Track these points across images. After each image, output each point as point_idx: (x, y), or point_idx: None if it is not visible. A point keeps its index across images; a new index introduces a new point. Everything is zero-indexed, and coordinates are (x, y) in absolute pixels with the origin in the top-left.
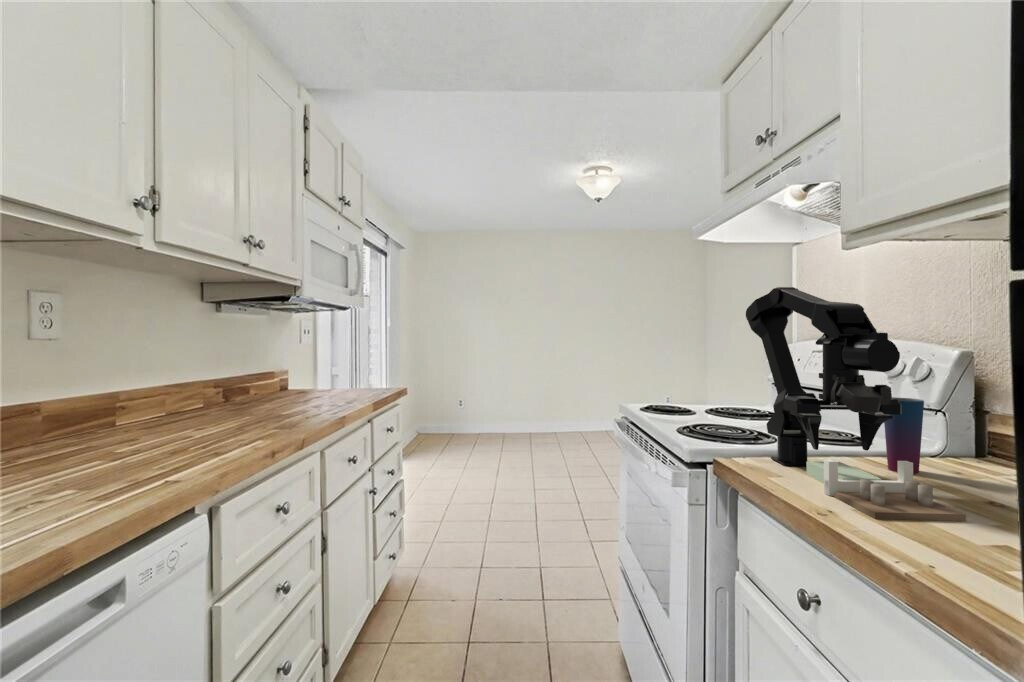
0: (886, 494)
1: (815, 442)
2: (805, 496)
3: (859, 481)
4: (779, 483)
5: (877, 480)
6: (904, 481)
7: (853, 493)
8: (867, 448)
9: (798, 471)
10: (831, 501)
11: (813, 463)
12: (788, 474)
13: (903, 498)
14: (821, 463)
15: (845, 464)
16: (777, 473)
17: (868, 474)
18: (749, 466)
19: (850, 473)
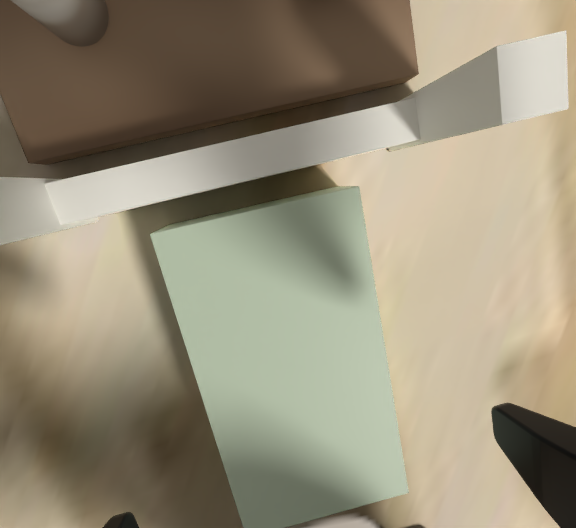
0: (179, 89)
1: (569, 430)
2: None
3: (291, 137)
4: (552, 252)
5: (180, 194)
6: (33, 180)
7: (340, 62)
8: (116, 524)
9: None
10: (443, 7)
11: (392, 458)
12: (460, 410)
13: (116, 31)
14: (352, 472)
15: (236, 496)
16: None
17: (187, 315)
18: None
19: (278, 307)
